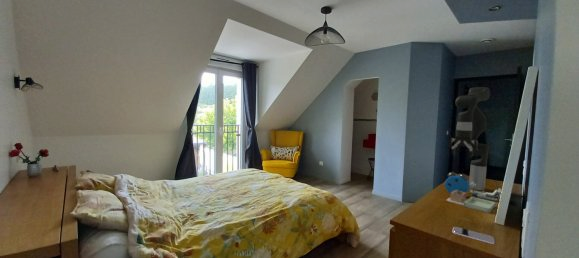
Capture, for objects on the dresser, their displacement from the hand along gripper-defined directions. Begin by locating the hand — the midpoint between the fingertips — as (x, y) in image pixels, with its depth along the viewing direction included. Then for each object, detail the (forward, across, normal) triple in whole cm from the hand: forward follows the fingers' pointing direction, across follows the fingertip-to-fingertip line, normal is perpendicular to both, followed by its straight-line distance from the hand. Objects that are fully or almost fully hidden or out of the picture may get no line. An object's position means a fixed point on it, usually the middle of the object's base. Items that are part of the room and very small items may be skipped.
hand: (461, 156), depth 145 cm
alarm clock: (+30, +5, -16) cm, 34 cm away
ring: (+29, +1, -4) cm, 29 cm away
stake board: (+29, +1, -4) cm, 30 cm away
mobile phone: (+30, -16, +40) cm, 53 cm away
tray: (+29, -10, -4) cm, 31 cm away
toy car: (+30, -8, -26) cm, 40 cm away
